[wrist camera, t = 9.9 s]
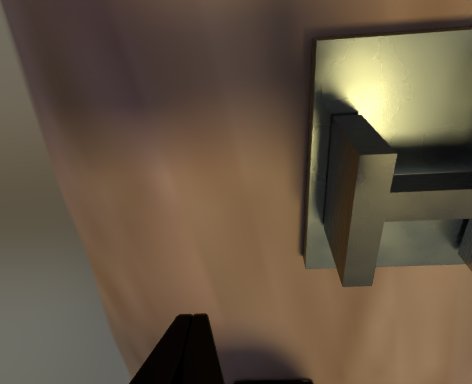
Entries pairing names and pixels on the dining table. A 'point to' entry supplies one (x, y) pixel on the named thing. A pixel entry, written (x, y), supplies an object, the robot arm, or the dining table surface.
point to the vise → (393, 128)
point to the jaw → (381, 198)
